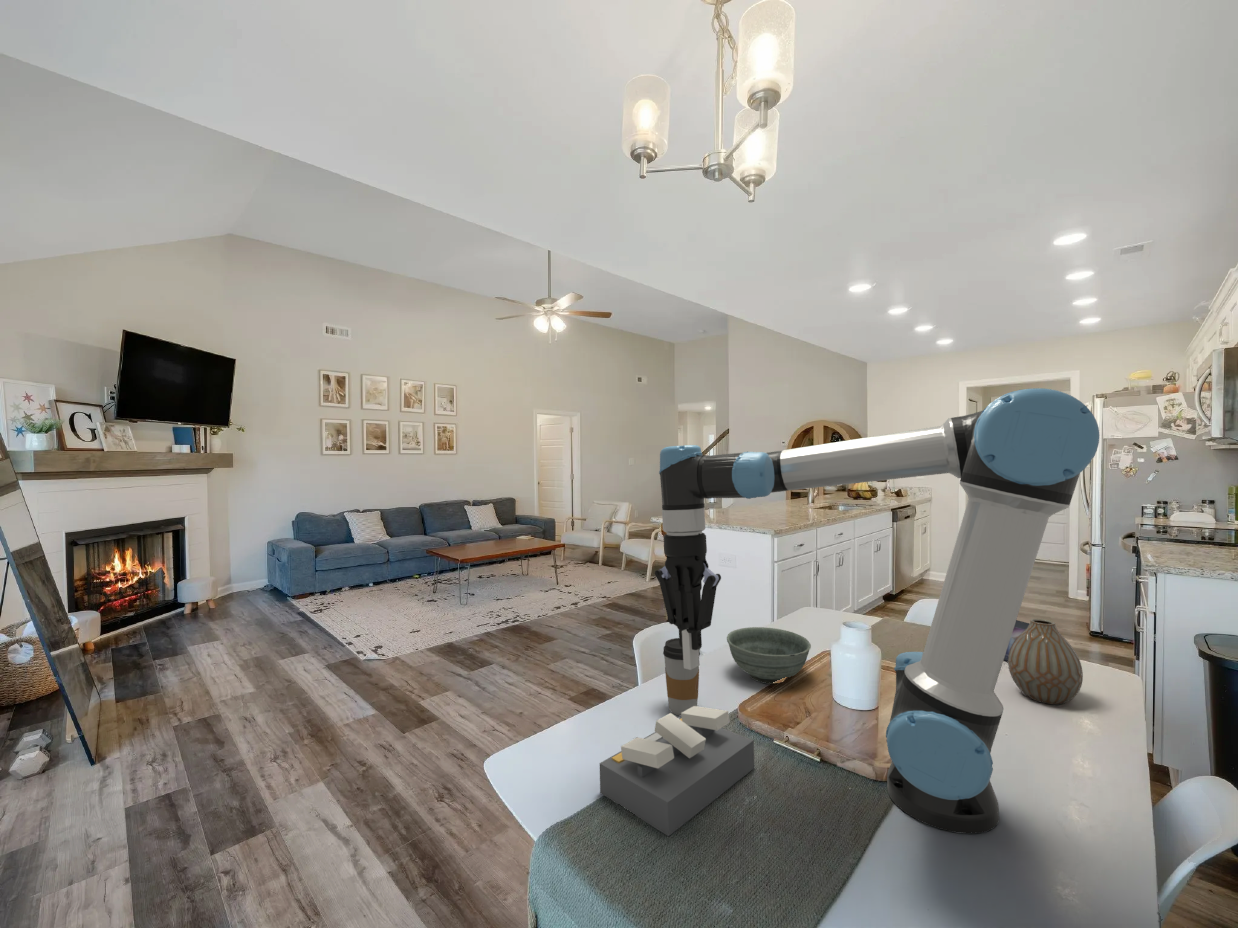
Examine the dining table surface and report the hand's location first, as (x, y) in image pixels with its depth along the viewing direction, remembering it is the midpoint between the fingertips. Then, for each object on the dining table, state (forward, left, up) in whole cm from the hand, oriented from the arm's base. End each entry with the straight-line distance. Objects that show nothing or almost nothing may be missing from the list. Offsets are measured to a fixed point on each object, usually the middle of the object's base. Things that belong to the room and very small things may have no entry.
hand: (691, 666), depth 91 cm
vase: (-40, -79, -20) cm, 90 cm away
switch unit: (+1, +2, -20) cm, 20 cm away
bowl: (+12, -48, -20) cm, 53 cm away
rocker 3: (+1, -6, -13) cm, 14 cm away
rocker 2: (+1, +2, -13) cm, 13 cm away
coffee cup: (+17, -19, -20) cm, 32 cm away
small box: (-33, -101, -20) cm, 108 cm away
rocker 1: (+1, +10, -13) cm, 16 cm away
